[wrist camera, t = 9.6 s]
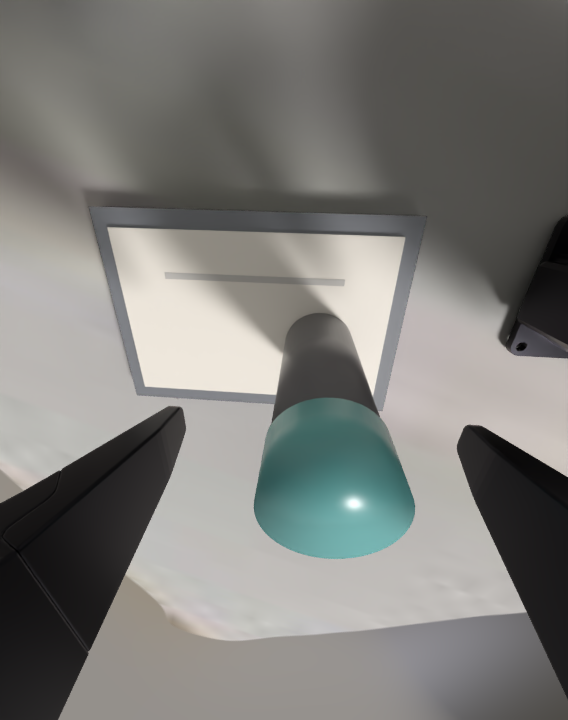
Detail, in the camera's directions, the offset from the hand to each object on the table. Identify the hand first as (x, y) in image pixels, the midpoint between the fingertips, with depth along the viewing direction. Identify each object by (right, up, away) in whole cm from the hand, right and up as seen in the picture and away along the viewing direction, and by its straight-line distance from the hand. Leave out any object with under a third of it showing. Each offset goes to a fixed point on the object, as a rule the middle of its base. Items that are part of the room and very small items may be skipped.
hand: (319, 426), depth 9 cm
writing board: (-3, +4, +6) cm, 8 cm away
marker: (+1, +3, +5) cm, 6 cm away
